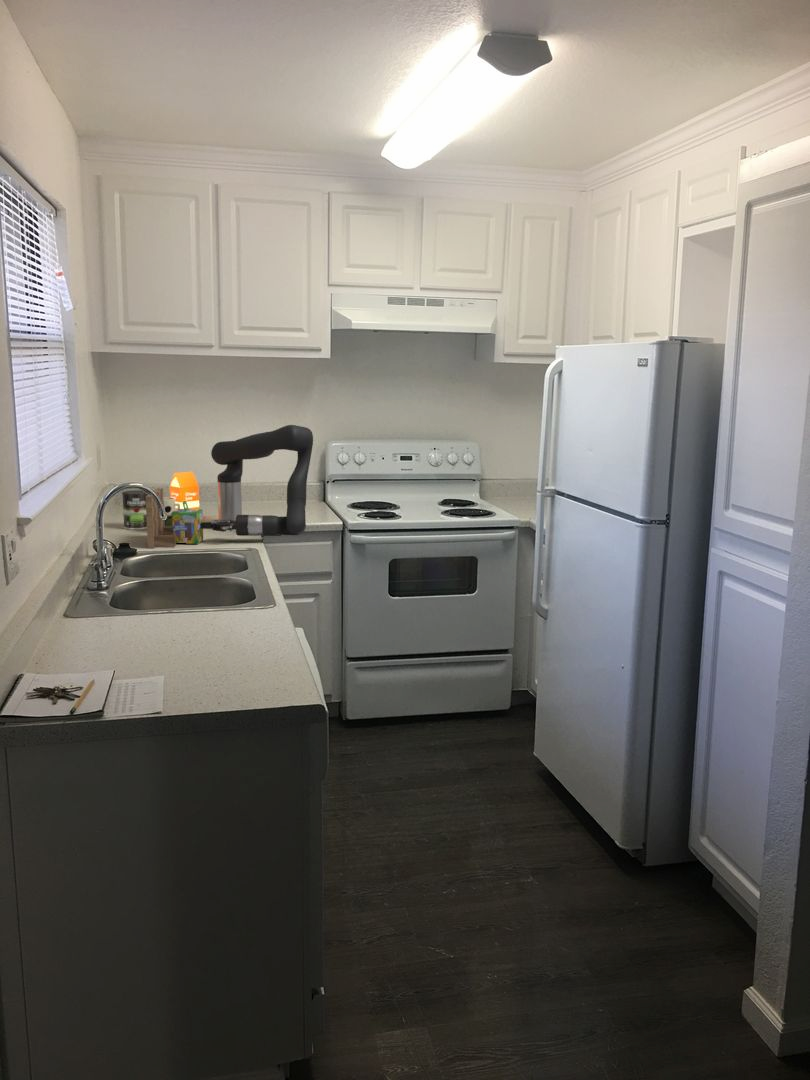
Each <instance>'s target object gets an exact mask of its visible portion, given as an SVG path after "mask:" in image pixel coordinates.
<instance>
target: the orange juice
mask: <svg viewBox="0 0 810 1080" xmlns="http://www.w3.org/2000/svg"><path fill="white" fill-rule="evenodd" d="M199 488H200V487H199V483H198V482H197V478H196V476H195V475H194V472H193V471H187V472H174V474H173V476H172V480H171V482H170V484H169V497H171V498H175V503H179V504H180V509H184V507H183V503H182V502H184V501H186V502H187V505H188V508H189V509H200V495H199V493H200V492H199ZM185 508H186V504H185ZM175 509H178V506H175Z"/></svg>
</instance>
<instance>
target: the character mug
mask: <svg viewBox="0 0 810 1080" xmlns="http://www.w3.org/2000/svg"><path fill="white" fill-rule="evenodd" d="M175 506H178V509H180V504H179V503H175V498H171V497H170V496H169V497H167V496H166V497H164V509H165V512H166V515H167V519H166V520H165V527H170V526H172V515H171V513H172V512H173V511H175V510H177V509H175Z"/></svg>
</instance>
